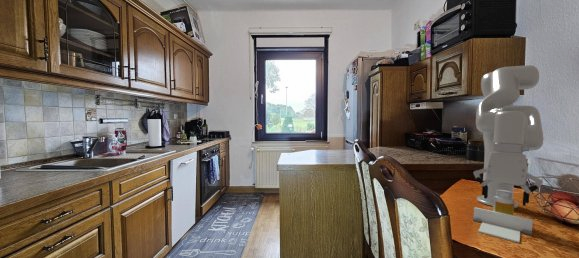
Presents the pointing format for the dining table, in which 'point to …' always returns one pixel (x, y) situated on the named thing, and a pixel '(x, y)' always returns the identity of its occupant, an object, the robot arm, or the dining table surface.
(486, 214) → the low wall
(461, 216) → the dining table surface
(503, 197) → the supplement bottle
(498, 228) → the mat
